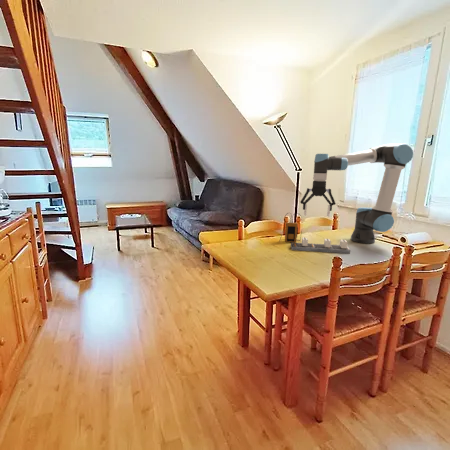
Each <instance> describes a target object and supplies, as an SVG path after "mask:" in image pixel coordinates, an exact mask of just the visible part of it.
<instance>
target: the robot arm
mask: <svg viewBox="0 0 450 450" xmlns="http://www.w3.org/2000/svg"><path fill="white" fill-rule="evenodd" d="M413 157H414V150H413V148H412V146H411V145H410V144H408V143H403V142H402V143H401V142H400V143H386V144H382V145H379V146H374V147H370V148H369V149H367V150H362V151H355V152H350V153H343V154H338V155H333V156H329V154H328V153H316V154H315V157H314V165H313V177H312V179H313V180H312V186H311V188H309V187H306V191H305V193H304V195H303V196H302V198H301V200H300V201H299V202H300V204H302V210H304V212H303V214H304V216H307V208H308V207H307V206H308V205H307V203H308V202H309V201H310V200H312V198H314V197H323V198H324V199H325V200H326V202H327V203H328V205H327V213H326V214H327V215H326V216H327V217H330V212H331V211H332V210H333V209H332V208H333V206H335V205H336V204H337V203H336V200H335V198H334V196H333V193H332V189H331V188H327V176H328V171H340V172H341V171H346V170H347V168H348V167H349V166H354V165H359V164H366V163H370V164H376V163H378V164H379V163H381V164H382V163H383V166H384V172H383V177H382V179H381V180H382V181H381V183H380V189H379V191H378V196H377V198H376V203H375V206H373V207H358V208H356V209H357V210H356V212H355V214H356V215H355V223H354V230H353V231H352V233H351V235H350V240H351V241H352V242H355V243H360V244H374V243H375V242H376V236H375V233H374V231H376V232H380V233H385V232H388V231H390V230H391V229H392V228H393V226H394V223H395V219H394V217H393V210H392V205H393V201H394V197H395V193H396V190H397V187H398V183H399V179H400V177H401V173H402V170H403V169H405V168H406V165H407V164H408V163H410V162H411V161H412V159H413ZM310 192H311V194H310V195H309V193H310ZM326 193H328V195H329V198H330V199H329V198H328V196H327V195H326ZM308 195H309V197H307V196H308Z"/></svg>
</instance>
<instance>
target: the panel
mask: <svg viewBox="0 0 450 450" xmlns="http://www.w3.org/2000/svg"><path fill="white" fill-rule="evenodd" d="M290 248H291V251H298V252H299V251H300V252H317V253H334V254H351V249H350V248H349V247H348V246H347V249H346V248H341V247H340V244H331V246H330V248H329V247H325V246H324V243H323V244H322V243H309V242H308V246H302V242H290Z"/></svg>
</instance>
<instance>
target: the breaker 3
mask: <svg viewBox="0 0 450 450" xmlns="http://www.w3.org/2000/svg"><path fill="white" fill-rule="evenodd" d="M339 245H340V247H341V248H346V249H347V247H348V241H347V240H346V239H339Z"/></svg>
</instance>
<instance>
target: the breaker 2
mask: <svg viewBox="0 0 450 450" xmlns="http://www.w3.org/2000/svg"><path fill="white" fill-rule="evenodd" d="M323 244H324V246H325V247H329V248H330V246H331V245H332V241H331V239H330V238H324V239H323Z"/></svg>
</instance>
